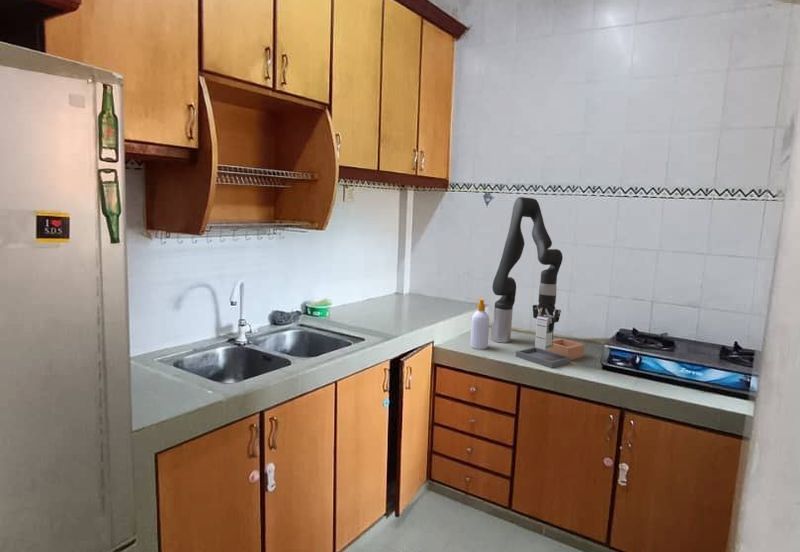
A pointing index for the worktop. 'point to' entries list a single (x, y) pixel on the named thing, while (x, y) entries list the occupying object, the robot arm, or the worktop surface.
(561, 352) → the terracotta open box
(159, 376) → the worktop surface
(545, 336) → the syrup box
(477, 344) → the soap bottle
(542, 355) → the charcoal tray
